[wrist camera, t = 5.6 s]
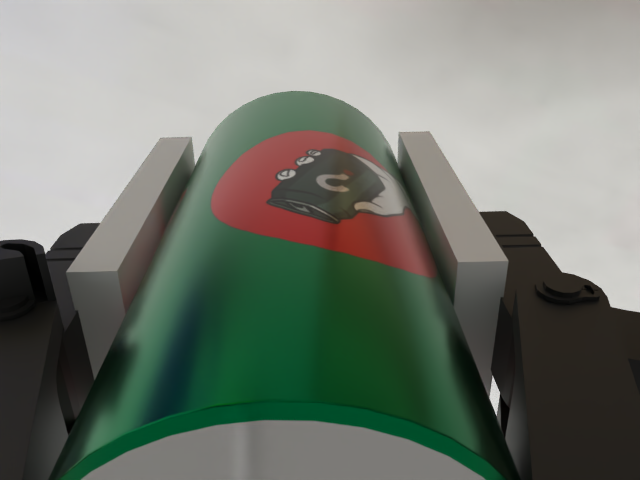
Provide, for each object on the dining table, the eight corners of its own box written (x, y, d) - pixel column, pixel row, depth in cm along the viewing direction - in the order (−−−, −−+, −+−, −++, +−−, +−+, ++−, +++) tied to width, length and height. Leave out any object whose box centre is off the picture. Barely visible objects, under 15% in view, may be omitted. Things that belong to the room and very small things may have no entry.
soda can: (164, 127, 15) (-198, 634, 4) (360, 53, 14) (528, 432, 3) (247, 291, 17) (147, 899, 6) (419, 234, 16) (635, 810, 6)
